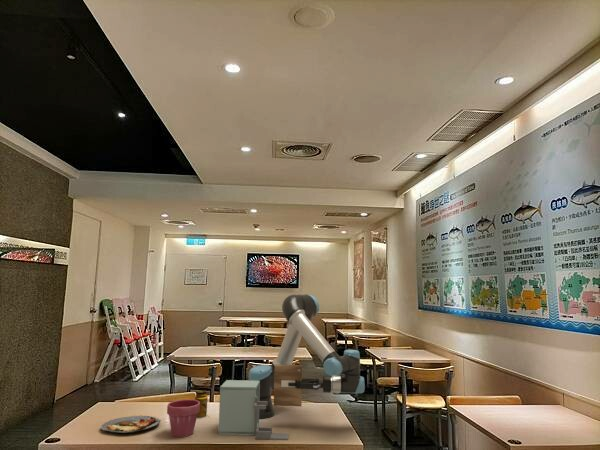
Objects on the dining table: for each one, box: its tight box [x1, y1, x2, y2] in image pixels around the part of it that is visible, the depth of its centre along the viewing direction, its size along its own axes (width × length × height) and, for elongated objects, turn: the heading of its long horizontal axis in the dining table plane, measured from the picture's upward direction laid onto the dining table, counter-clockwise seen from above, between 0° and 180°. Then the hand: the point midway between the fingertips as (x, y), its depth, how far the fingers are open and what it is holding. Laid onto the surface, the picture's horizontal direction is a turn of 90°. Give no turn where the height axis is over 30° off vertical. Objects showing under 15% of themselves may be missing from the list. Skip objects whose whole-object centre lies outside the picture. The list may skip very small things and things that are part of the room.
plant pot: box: [166, 399, 200, 438], centre depth 185 cm, size 14×14×13 cm
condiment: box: [194, 389, 210, 420], centre depth 210 cm, size 7×8×12 cm
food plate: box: [100, 414, 161, 434], centre depth 192 cm, size 25×23×4 cm
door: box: [273, 364, 303, 407], centre depth 197 cm, size 4×13×18 cm, turn 88°
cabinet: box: [218, 379, 290, 441], centre depth 188 cm, size 20×31×20 cm, turn 88°
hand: (281, 382), depth 198 cm, fingers closed on door, 3 cm apart
